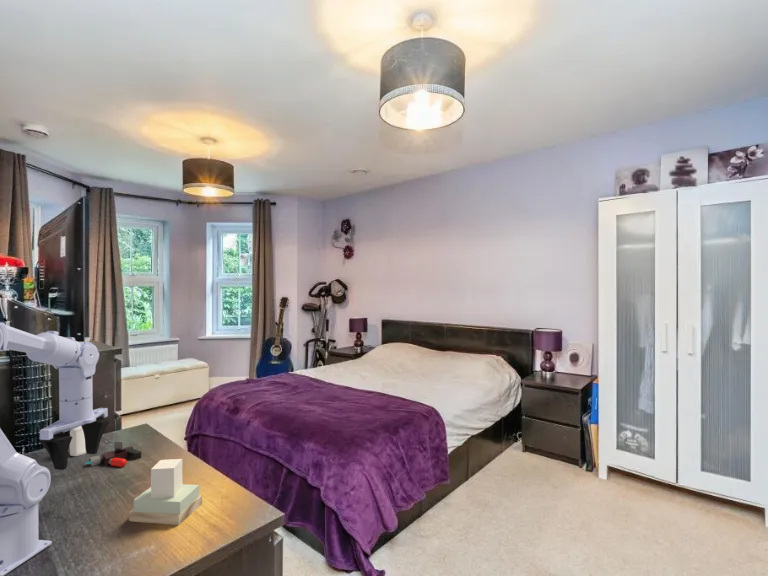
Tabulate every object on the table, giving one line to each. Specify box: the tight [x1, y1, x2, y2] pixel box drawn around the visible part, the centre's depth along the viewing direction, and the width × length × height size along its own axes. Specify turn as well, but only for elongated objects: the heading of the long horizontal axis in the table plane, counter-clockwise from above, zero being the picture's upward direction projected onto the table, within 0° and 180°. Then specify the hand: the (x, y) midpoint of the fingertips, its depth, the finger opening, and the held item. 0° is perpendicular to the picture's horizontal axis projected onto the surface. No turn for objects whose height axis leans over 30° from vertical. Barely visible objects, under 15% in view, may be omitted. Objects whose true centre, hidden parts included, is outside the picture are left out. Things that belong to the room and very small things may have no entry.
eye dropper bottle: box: [69, 426, 87, 457], centre depth 117 cm, size 4×6×12 cm
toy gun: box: [84, 440, 142, 468], centre depth 110 cm, size 10×12×5 cm
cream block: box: [150, 458, 184, 498], centre depth 86 cm, size 4×4×6 cm
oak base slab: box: [128, 494, 203, 526], centre depth 86 cm, size 8×11×2 cm
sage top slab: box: [133, 483, 200, 514], centre depth 86 cm, size 7×10×2 cm
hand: (76, 460), depth 87 cm, fingers open, 7 cm apart
